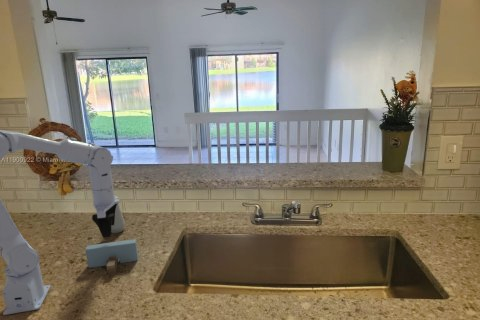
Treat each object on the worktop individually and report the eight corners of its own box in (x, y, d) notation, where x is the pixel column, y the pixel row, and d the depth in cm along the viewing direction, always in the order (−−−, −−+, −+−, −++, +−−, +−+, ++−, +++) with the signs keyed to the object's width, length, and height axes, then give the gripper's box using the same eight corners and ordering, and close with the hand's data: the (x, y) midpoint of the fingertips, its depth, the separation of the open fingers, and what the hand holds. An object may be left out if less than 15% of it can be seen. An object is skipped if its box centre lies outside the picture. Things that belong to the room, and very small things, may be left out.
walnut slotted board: (115, 274, 96) (114, 265, 95) (108, 275, 95) (106, 266, 95) (120, 250, 109) (119, 241, 108) (113, 250, 109) (112, 242, 108)
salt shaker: (105, 232, 122) (100, 198, 118) (117, 226, 126) (113, 193, 123) (117, 235, 119) (112, 201, 115) (129, 228, 124) (124, 195, 120)
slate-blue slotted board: (137, 260, 103) (135, 242, 101) (88, 267, 100) (85, 249, 98) (138, 256, 105) (135, 239, 103) (90, 263, 102) (87, 245, 100)
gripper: (114, 194, 90) (120, 240, 94) (119, 178, 104) (125, 218, 107) (85, 197, 89) (93, 243, 92) (95, 180, 102) (101, 221, 106)
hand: (108, 230), depth 100 cm, fingers open, 7 cm apart
